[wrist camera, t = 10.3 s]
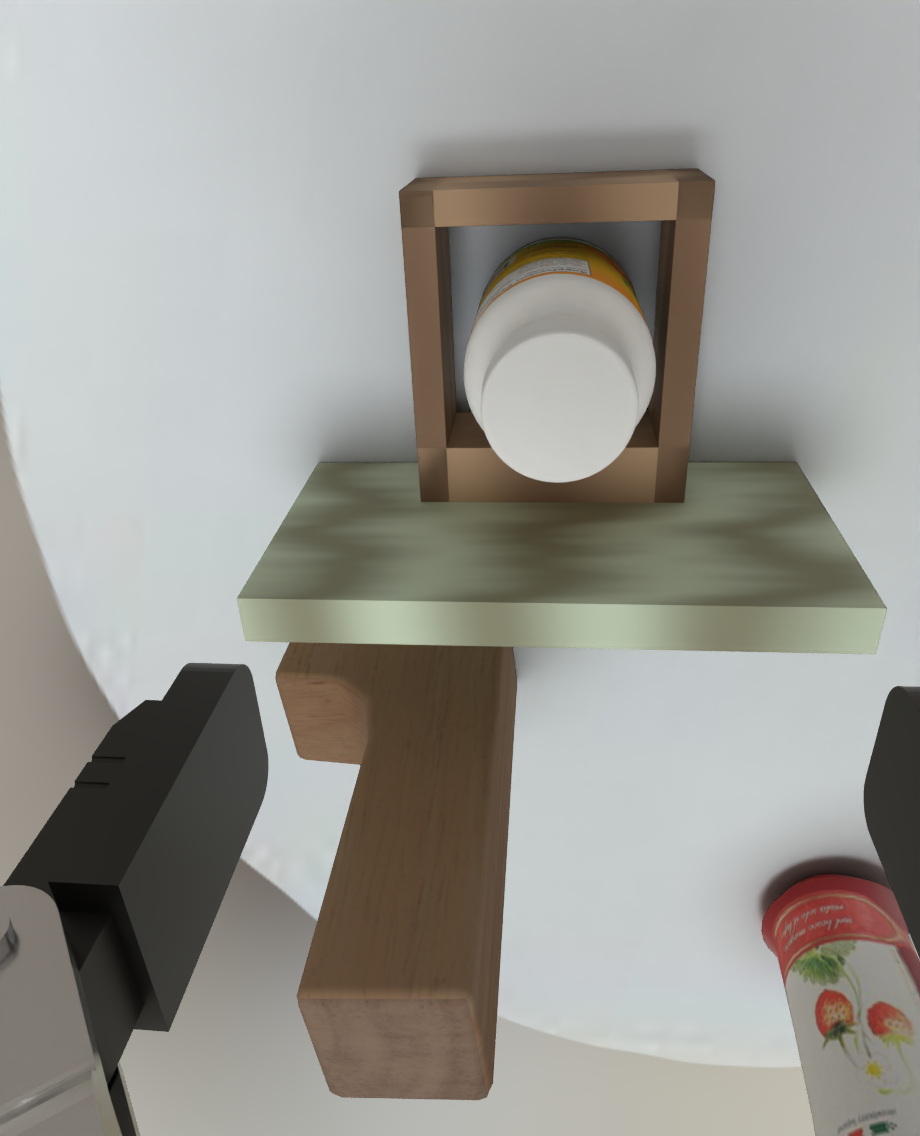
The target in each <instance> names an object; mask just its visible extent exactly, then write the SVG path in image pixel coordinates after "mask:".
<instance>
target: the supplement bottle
mask: <svg viewBox="0 0 920 1136" xmlns="http://www.w3.org/2000/svg"><path fill="white" fill-rule="evenodd" d="M655 377H656V358H655V351H654V347H653V342H652V338H651V335H650V332H649V329H648V327H647V324H646V321H645V319H644V316H643V313H642V310H641V308H640V305H639V302H638V300H637V297H636V295H635V292H634V290H633V287H632V285H631V282H630V281H629V279H628V277H627V276H626V274H625V272H624V271H623V269H622V268H621V267H620V265H619V264H618V263H617V262H616V261H615V260H614V259H613V258H612V257H611V256H610V255H609V254H607V253H606V252H604V251H603V250H602V249H600V248H598V247H596V246H594V245H592V244H590V243H587V242H584V241H580V240H576V239H569V238H554V239H545V240H541V241H537V242H534V243H531V244H529V245H527V246H525V247H523V248H521V249H520V250H518V251H517V252H515V253H514V254H512V255H511V256H510V257H509V258H507V259H506V260H505V261H504V262H503V263H502V264H501V265H500V266H499V267H498V269H497V270H496V271H495V273H494V274H493V276H492V277H491V279H490V281H489V283H488V285H487V286H486V288H485V291H484V293H483V296H482V299H481V302H480V305H479V308H478V311H477V315H476V318H475V322H474V325H473V329H472V332H471V335H470V337H469V341H468V344H467V348H466V353H465V360H464V385H465V392H466V396H467V400H468V403H469V406H470V408H471V411H472V413H473V415H474V417H475V419H476V421H477V422H478V424H479V425H480V427H481V428H482V430H483V431H484V432H485V435H486V437H487V440H488V442H489V443H490V445H491V447H492V449H493V450H494V451H495V452H496V454H497V455H498V456H499V457H500V458H501V459H502V461H504V462H505V463H506V464H507V465H508V466H509V467H511V468H512V469H514V470H515V471H517V472H519V473H520V474H522V475H524V476H527V477H529V478H532V479H535V480H540V481H545V482H557V483H561V482H570V481H576V480H580V479H583V478H586V477H589V476H591V475H593V474H595V473H597V472H599V471H601V470H603V469H604V468H605V467H607V466H608V465H609V464H611V463H612V462H613V461H614V460H615V459H616V458H617V457H618V456H619V455H620V454H621V452H622V451H623V450H624V448H625V447H626V445H627V444H628V442H629V441H630V438H631V436H632V434H633V432H634V429H635V427H636V426H637V424H638V423H639V421H640V420H641V418H642V417H643V415H644V413H645V411H646V409H647V407H648V405H649V402H650V399H651V396H652V393H653V389H654V384H655Z"/></svg>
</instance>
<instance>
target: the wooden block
mask: <svg viewBox="0 0 920 1136" xmlns="http://www.w3.org/2000/svg"><path fill="white" fill-rule="evenodd" d="M276 683H277V686H278V690H279V693H280V697H281V700H282V703H283V707H284V710H285V713H286V717H287V720H288V723H289V727H290V730H291V733H292V737H293V740H294V744H295V747H296V750H297V754H298V755H299V756H300V758H303V759H306V760H316V761H327V762H338V763H349V764H359V765H360V766H361V767H360V770H359V774H358V777H357V781H356V785H355V788H354V792H353V795H352V799H351V803H350V806H349V810H348V813H347V817H346V821H345V824H344V828H343V831H342V835H341V839H340V842H339V846H338V849H337V853H336V857H335V860H334V864H333V867H332V871H331V875H330V878H329V882H328V885H327V889H326V893H325V896H324V900H323V903H322V907H321V911H320V914H319V918H318V921H317V925H316V929H315V932H314V936H313V939H312V943H311V947H310V950H309V954H308V957H307V961H306V965H305V968H304V972H303V975H302V979H301V983H300V986H299V990H298V994H297V998H298V1004H299V1008H300V1011H301V1013H302V1016H303V1019H304V1022H305V1024H306V1027H307V1030H308V1032H309V1035H310V1038H311V1041H312V1044H313V1046H314V1049H315V1052H316V1054H317V1057H318V1060H319V1062H320V1065H321V1068H322V1070H323V1074H324V1076H325V1079H326V1082H327V1084H328V1087H329V1090H330V1091H331V1092H332V1093H333V1094H335V1095H338V1096H340V1097H354V1098H401V1099H402V1098H403V1099H450V1100H480V1099H483V1098H485V1097H487V1095H488V1092H489V1090H490V1088H491V1085H492V1084H493V1071H494V1054H495V1039H496V1022H497V1006H498V990H499V973H500V957H501V940H502V924H503V907H504V891H505V874H506V858H507V841H508V825H509V808H510V791H511V773H512V756H513V740H514V724H515V708H516V693H517V678H516V670H515V663H514V655H513V647H501V646H452V645H403V644H355V643H306V642H290V643H289V645H288V648H287V650H286V652H285V654H284V656H283V658H282V661H281V663H280V665H279V667H278V669H277V672H276Z"/></svg>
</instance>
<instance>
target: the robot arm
mask: <svg viewBox="0 0 920 1136" xmlns="http://www.w3.org/2000/svg"><path fill="white" fill-rule="evenodd" d="M267 779H268V754H267V748H266V743H265V738H264V733H263V728H262V723H261V717H260V712H259V707H258V702H257V697H256V692H255V687H254V682H253V677H252V674H251V671H250V669H249V668H248V667H247V666H246V665H244V664H212V663H188V664H186V665H185V666H184V667H183V668H182V670H181V671H180V673H179V674H178V676H177V678H176V679H175V681H174V682H173V684H172V685H171V687H170V689H169V690H168V692H167V693H166V695H165V696H164V698H163V700H162V701H157V700H145V701H144V702H143V703H141V704H140V705H139V706H138V707H136V708H135V709H134V710H132V711H131V712H130V713H128V714H127V715H126V716H125V717H123V718H122V719H121V720H119V721H118V722H117V723H116V724H114V725H113V726H112V727H111V729H110V731H109V732H108V733H107V735H106V736H105V738H104V739H103V741H102V742H101V744H100V745H99V747H98V748H97V749H96V751H95V752H94V754H93V755H92V762H88V763H87V764H86V765H85V767H84V768H83V770H82V771H81V773H80V774H79V776H78V777H77V779H76V780H75V786H74V788H70V789H69V790H68V792H67V793H66V795H65V796H64V798H63V799H62V801H61V802H60V804H59V805H58V807H57V808H56V810H55V811H54V813H53V814H52V815H51V817H50V818H49V820H48V821H47V823H46V824H45V826H44V827H43V829H42V830H41V831H40V833H39V834H38V836H37V837H36V839H35V840H34V842H33V843H32V845H31V846H30V848H29V849H28V851H27V852H26V853H25V855H24V857H23V858H22V859H21V861H20V862H19V864H18V865H17V867H16V868H15V870H14V871H13V872H12V874H11V876H10V877H9V878H8V880H7V881H6V883H5V884H4V885H3V886H2V887H0V1136H140V1133H139V1129H138V1126H137V1122H136V1118H135V1115H134V1111H133V1107H132V1103H131V1100H130V1096H129V1092H128V1089H127V1085H126V1081H125V1077H124V1074H123V1070H122V1068H121V1065H120V1063H119V1060H120V1058H121V1056H122V1054H123V1051H124V1049H125V1047H126V1045H127V1042H128V1040H129V1038H130V1036H131V1033H132V1031H133V1029H142V1030H153V1031H166V1032H168V1031H169V1030H170V1027H171V1025H172V1022H173V1020H174V1017H175V1015H176V1013H177V1010H178V1008H179V1005H180V1003H181V1000H182V998H183V995H184V993H185V990H186V988H187V985H188V983H189V981H190V978H191V976H192V973H193V971H194V968H195V966H196V964H197V961H198V959H199V956H200V953H201V951H202V949H203V946H204V944H205V941H206V939H207V936H208V934H209V932H210V929H211V927H212V924H213V922H214V919H215V917H216V914H217V912H218V909H219V907H220V905H221V902H222V900H223V897H224V895H225V892H226V890H227V888H228V885H229V883H230V880H231V878H232V875H233V872H234V870H235V868H236V865H237V863H238V861H239V858H240V856H241V853H242V851H243V848H244V846H245V843H246V841H247V838H248V836H249V834H250V831H251V829H252V826H253V824H254V821H255V819H256V816H257V814H258V812H259V809H260V807H261V804H262V801H263V799H264V795H265V791H266V786H267ZM864 811H865V818H866V823H867V827H868V830H869V833H870V836H871V838H872V841H873V843H874V846H875V848H876V851H877V853H878V856H879V858H880V861H881V863H882V866H883V868H884V871H885V873H886V876H887V878H888V881H889V883H890V886H891V888H892V891H893V893H894V896H895V898H896V901H897V903H898V906H899V908H900V911H901V913H902V915H903V918H904V920H905V923H906V925H907V928H908V930H909V933H910V935H911V938H912V940H913V943H914V945H915V948H916V950H917V953H918V955H919V958H920V687H905V686H897V687H894V688H893V689H892V690H891V691H890V693H889V695H888V697H887V699H886V703H885V706H884V710H883V714H882V718H881V722H880V726H879V729H878V733H877V737H876V741H875V745H874V748H873V752H872V756H871V760H870V764H869V767H868V771H867V775H866V779H865V785H864Z"/></svg>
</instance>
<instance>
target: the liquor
mask: <svg viewBox="0 0 920 1136" xmlns="http://www.w3.org/2000/svg"><path fill="white" fill-rule="evenodd" d="M761 931H762V935H763V940H764V941H765V943H766V945H767V947H768V948H769V949H770V950H771V951H772V952H773V953H774V954H775V955H776V956H777V957H778V960H779V965H780V969H781V974H782V978H783V983H784V987H785V991H786V996H787V1000H788V1005H789V1009H790V1014H791V1018H792V1023H793V1027H794V1032H795V1037H796V1041H797V1046H798V1051H799V1056H800V1061H801V1065H802V1070H803V1075H804V1079H805V1084H806V1089H807V1094H808V1099H809V1104H810V1108H811V1114H812V1119H813V1125H814V1131H815V1135H816V1136H920V961H919V959H918V956H917V954H916V952H915V950H914V947H913V945H912V943H911V940H910V938H909V936H908V934H909V930H908V928H907V925H906V923H905V920H904V918H903V915H902V913H901V911H900V908H899V906H898V903H897V901H896V898H895V896H894V893H893V891H892V890H891V889H889V888H887V887H885V886H883V885H881V884H879V883H875V882H872V881H868V880H865V879H860V878H856V877H852V876H847V875H842V874H820V875H815V876H811V877H808V878H805V879H803V880H801V881H799V882H797V883H796V884H794V885H793V886H791V887H790V888H789V889H788V890H787V891H786V892H785V893H784V894H782V895H781V896H780V897H779V898H778V899H777V900H776V901H775V902H773V903H772V905H771V906H770V907H769V909H768V910H767V911H766V913H765V916H764V918H763V921H762V930H761Z"/></svg>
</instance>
